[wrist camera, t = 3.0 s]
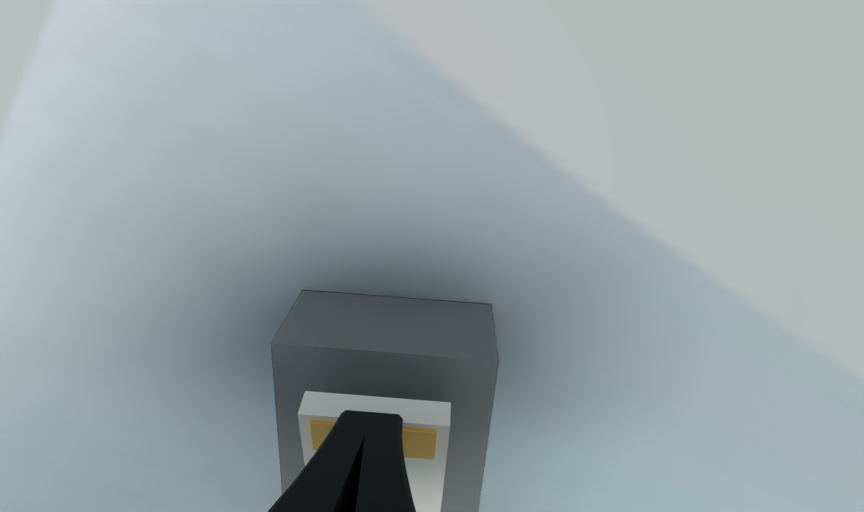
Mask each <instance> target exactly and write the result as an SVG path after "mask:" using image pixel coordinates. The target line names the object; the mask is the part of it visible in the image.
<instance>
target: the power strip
mask: <svg viewBox="0 0 864 512" xmlns="http://www.w3.org/2000/svg"><path fill="white" fill-rule="evenodd" d="M271 352H272V365H273V378H274V391H275V404H276V418H277V431H278V444H279V457H280V470H281V483H282V494H283V493H284V492H285V491H286V490H287V489H288V487H289V486H290V485H291V484H292V483H293V481H294V480H295V479H296V478H297V476H298V475H299V474H300V472H301V471H302V470H303V468H304V467H305V464H304V457H303V449H302V442H301V435H300V428H299V421H298V411H299V408H300V405H301V402H302V399H303V396H304V393H305V391H312V392H325V393H338V394H350V395H363V396H375V397H388V398H401V399H413V400H426V401H439V402H451V416H450V432H449V441H448V450H447V459H446V468H445V476H444V485H443V494H442V503H441V512H478V508H479V501H480V494H481V487H482V479H483V472H484V465H485V458H486V450H487V443H488V436H489V428H490V421H491V414H492V407H493V399H494V392H495V385H496V378H497V370H498V363H499V358H498V350H497V342H496V334H495V326H494V318H493V310H492V305H490V304H477V303H464V302H450V301H437V300H424V299H411V298H398V297H385V296H372V295H359V294H345V293H332V292H319V291H306V290H302V291H301V293H300V295H299V296H298V298H297V300H296V301H295V303H294V305H293V306H292V308H291V310H290V311H289V313H288V315H287V317H286V318H285V320H284V322H283V323H282V325H281V327H280V328H279V330H278V332H277V334H276V335H275V337H274V339H273V340H272V342H271Z"/></svg>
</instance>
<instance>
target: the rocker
mask: <svg viewBox="0 0 864 512" xmlns="http://www.w3.org/2000/svg"><path fill="white" fill-rule="evenodd" d="M345 410H353V411H365V412H378V413H390V414H399V415H400V416H401V417H402V418H403V428H402V443H403V452H404V460H405V466H406V471H407V476H408V480H409V485H410V490H411V494H412V498H413V502H414V506H415V509H416V512H441V503H442V494H443V485H444V476H445V468H446V459H447V450H448V441H449V432H450V416H451V402H439V401H426V400H413V399H401V398H388V397H375V396H363V395H350V394H338V393H325V392H312V391H305V393H304V396H303V399H302V402H301V405H300V408H299V411H298V421H299V428H300V435H301V442H302V449H303V457H304V464H305V466H306V465H307V463H308V462H309V461H310V459H311V458H312V457H313V455H314V454H315V453H316V451H317V450H318V448H319V447H320V445H321V444H322V443H323V441H324V440H325V438H326V437H327V435H328V434H329V432H330V431H331V429H332V428H333V426H334V424H335V423H336V421H337V419H338V418H339V416H340V414H341V413H342V412H344V411H345Z"/></svg>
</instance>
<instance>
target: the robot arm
mask: <svg viewBox="0 0 864 512" xmlns="http://www.w3.org/2000/svg"><path fill="white" fill-rule="evenodd" d="M402 428H403V418H402V417H401V416H400V415H399V414H390V413H378V412H365V411H353V410H345V411H344V412H342V413H341V414H340V416H339V418H338V419H337V421H336V423H335V424H334V426H333V428H332V429H331V431H330V432H329V434H328V435H327V437H326V438H325V440H324V441H323V443H322V444H321V445H320V447H319V448H318V450H317V451H316V453H315V454H314V455H313V457H312V458H311V459H310V461H309V462H308V463H307V465H306V466H305V467H304V468H303V470H302V471H301V472H300V474H299V475H298V476H297V478H296V479H295V480H294V481H293V483H292V484H291V485H290V486H289V487H288V489H287V490H286V491H285V492H284V493H283V494H282V496H281V497H280V498H279V499H278V500H277V501H276V503H275V504H274V505H273V506H272V507H271V508H270V510H269V511H268V512H416V509H415V506H414V502H413V498H412V494H411V490H410V485H409V480H408V476H407V471H406V466H405V460H404V452H403V443H402Z"/></svg>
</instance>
